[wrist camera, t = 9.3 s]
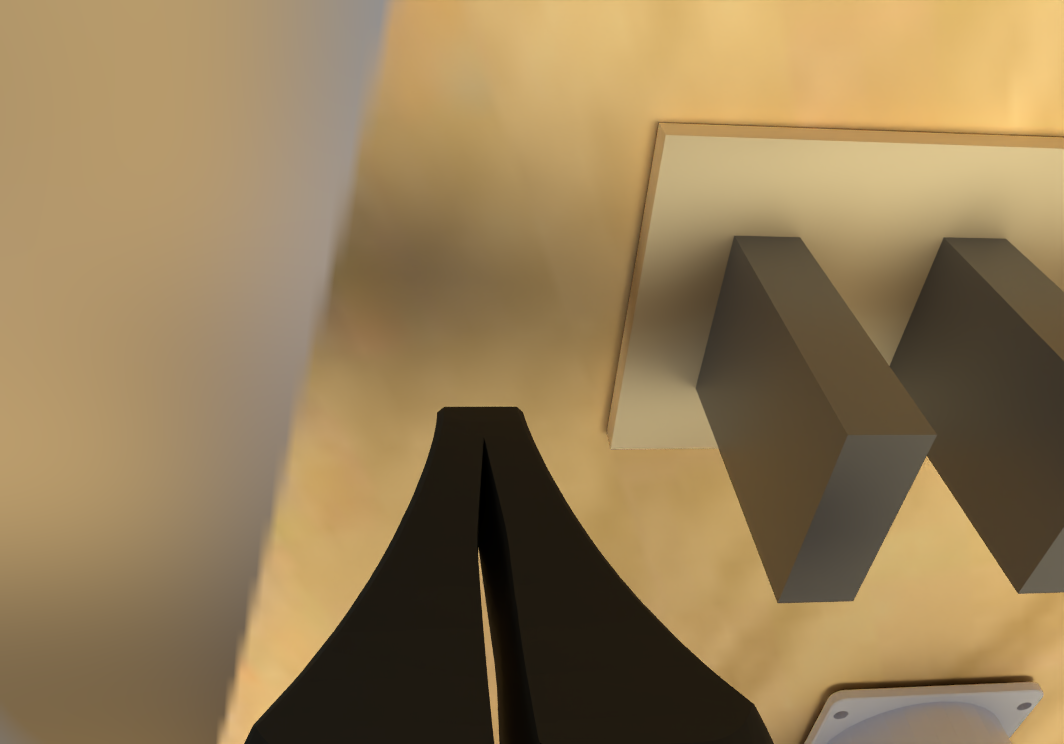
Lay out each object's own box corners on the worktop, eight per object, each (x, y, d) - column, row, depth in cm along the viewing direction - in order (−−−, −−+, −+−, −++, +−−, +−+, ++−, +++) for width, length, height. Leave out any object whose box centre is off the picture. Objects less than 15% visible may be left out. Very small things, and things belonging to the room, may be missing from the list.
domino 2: (936, 385, 20) (1088, 591, 15) (880, 385, 20) (1018, 593, 15) (1006, 238, 18) (1213, 429, 13) (944, 237, 17) (1129, 430, 13)
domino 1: (753, 388, 20) (853, 600, 15) (695, 387, 19) (778, 603, 15) (800, 237, 17) (937, 435, 12) (734, 235, 17) (847, 435, 12)
